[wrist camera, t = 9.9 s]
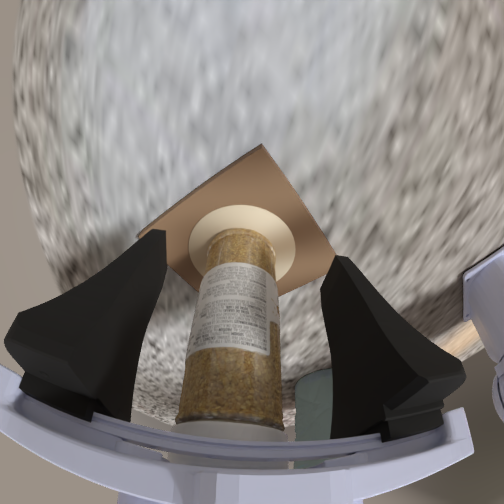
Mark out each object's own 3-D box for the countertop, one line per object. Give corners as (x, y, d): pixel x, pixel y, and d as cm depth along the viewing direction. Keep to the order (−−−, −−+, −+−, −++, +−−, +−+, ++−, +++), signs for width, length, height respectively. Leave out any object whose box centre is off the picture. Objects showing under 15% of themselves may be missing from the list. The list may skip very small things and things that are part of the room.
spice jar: (265, 284, 20) (267, 483, 9) (202, 271, 19) (167, 473, 9) (285, 233, 17) (310, 474, 6) (212, 216, 16) (163, 465, 6)
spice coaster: (339, 259, 19) (341, 267, 19) (229, 311, 23) (229, 319, 22) (261, 143, 14) (262, 148, 14) (141, 230, 18) (137, 237, 17)
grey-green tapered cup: (275, 391, 34) (277, 474, 24) (319, 357, 28) (331, 461, 19) (334, 398, 36) (342, 469, 27) (380, 367, 30) (398, 451, 21)
